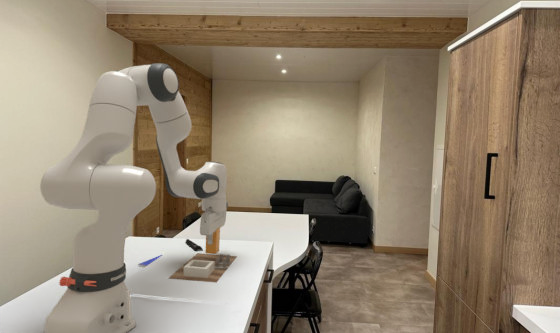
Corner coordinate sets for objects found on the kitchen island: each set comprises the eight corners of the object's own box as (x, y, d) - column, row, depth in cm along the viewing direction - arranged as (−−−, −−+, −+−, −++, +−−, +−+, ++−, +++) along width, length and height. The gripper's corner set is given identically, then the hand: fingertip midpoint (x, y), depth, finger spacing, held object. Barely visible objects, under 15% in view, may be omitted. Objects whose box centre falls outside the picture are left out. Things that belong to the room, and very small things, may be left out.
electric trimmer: (191, 245, 163) (191, 238, 163) (204, 254, 150) (204, 246, 150) (183, 246, 161) (183, 239, 161) (195, 255, 148) (195, 247, 148)
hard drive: (156, 267, 129) (178, 257, 140) (138, 263, 132) (160, 254, 143) (156, 271, 129) (178, 261, 140) (138, 267, 132) (160, 258, 143)
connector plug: (216, 253, 135) (216, 226, 135) (205, 253, 135) (206, 225, 135) (219, 251, 139) (220, 224, 139) (208, 250, 139) (209, 223, 139)
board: (216, 286, 116) (216, 271, 116) (167, 281, 118) (168, 267, 118) (236, 259, 144) (237, 247, 144) (197, 256, 146) (197, 244, 146)
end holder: (207, 278, 120) (207, 268, 120) (183, 276, 121) (183, 267, 120) (214, 269, 128) (214, 261, 127) (192, 268, 129) (192, 259, 128)
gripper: (213, 210, 126) (212, 250, 126) (229, 202, 146) (228, 236, 147) (195, 209, 127) (194, 248, 127) (213, 201, 147) (212, 235, 147)
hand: (212, 242), depth 137 cm, fingers closed on connector plug, 4 cm apart
